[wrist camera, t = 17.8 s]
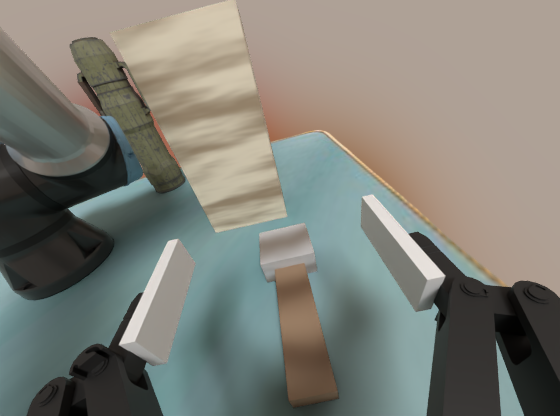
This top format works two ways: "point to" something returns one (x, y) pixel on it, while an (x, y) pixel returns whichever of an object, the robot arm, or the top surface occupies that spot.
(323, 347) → the hammer
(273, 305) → the top surface
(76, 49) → the thermos
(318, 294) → the top surface
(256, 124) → the pedestal
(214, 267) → the top surface
